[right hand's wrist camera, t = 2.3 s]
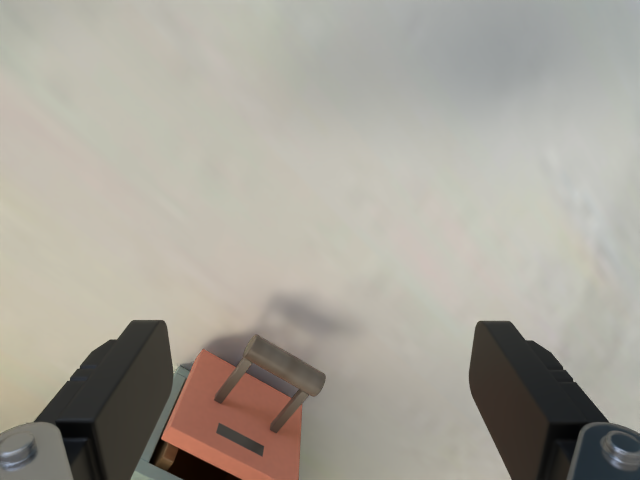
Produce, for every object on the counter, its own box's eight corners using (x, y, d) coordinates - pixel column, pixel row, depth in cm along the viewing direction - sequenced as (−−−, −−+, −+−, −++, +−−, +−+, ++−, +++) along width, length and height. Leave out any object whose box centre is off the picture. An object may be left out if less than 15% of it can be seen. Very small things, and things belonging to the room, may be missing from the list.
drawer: (242, 293, 31) (219, 359, 24) (344, 354, 33) (352, 432, 26) (129, 451, 36) (81, 546, 29) (223, 497, 38) (200, 597, 31)
